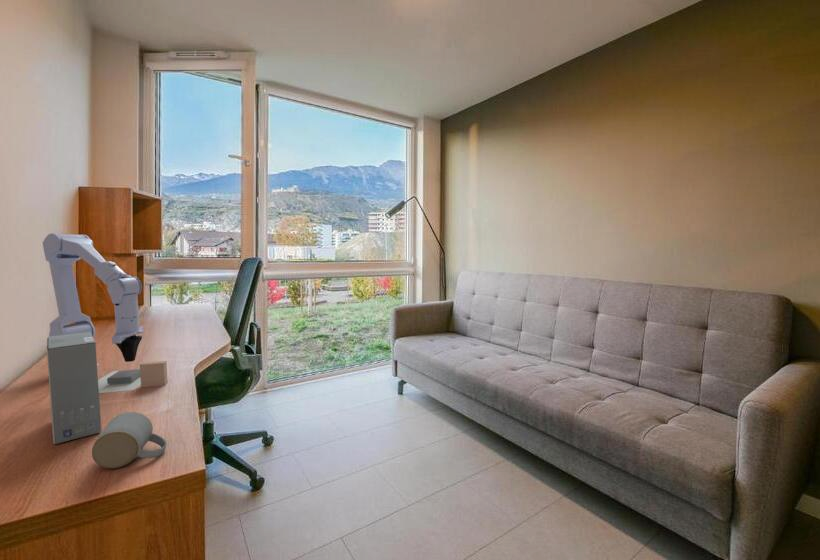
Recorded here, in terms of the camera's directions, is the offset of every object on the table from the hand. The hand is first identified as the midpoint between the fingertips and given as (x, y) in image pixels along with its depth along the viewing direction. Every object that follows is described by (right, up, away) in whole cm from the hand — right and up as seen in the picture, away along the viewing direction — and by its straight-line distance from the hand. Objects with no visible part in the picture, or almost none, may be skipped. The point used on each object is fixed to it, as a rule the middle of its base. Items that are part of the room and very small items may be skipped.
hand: (130, 361), depth 113 cm
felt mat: (0, -6, -3) cm, 6 cm away
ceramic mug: (+33, -9, -42) cm, 54 cm away
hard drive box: (+11, -8, -31) cm, 34 cm away
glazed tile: (0, -4, 0) cm, 4 cm away
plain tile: (+12, -6, -7) cm, 15 cm away
